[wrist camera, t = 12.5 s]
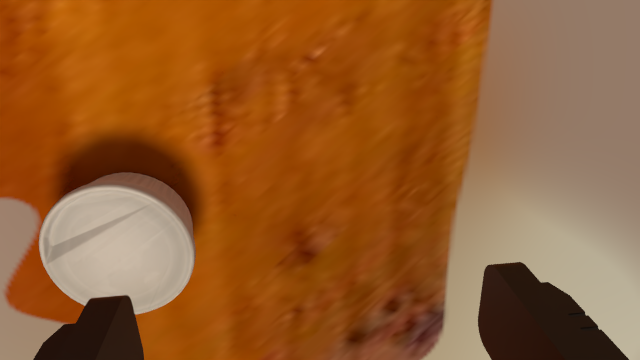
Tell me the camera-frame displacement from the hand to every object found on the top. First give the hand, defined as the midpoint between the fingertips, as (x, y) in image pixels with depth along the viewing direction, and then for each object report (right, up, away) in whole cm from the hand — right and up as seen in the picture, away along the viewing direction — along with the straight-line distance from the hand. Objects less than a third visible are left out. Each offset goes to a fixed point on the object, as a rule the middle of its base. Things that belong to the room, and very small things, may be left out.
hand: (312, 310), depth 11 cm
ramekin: (-15, 0, +30) cm, 33 cm away
